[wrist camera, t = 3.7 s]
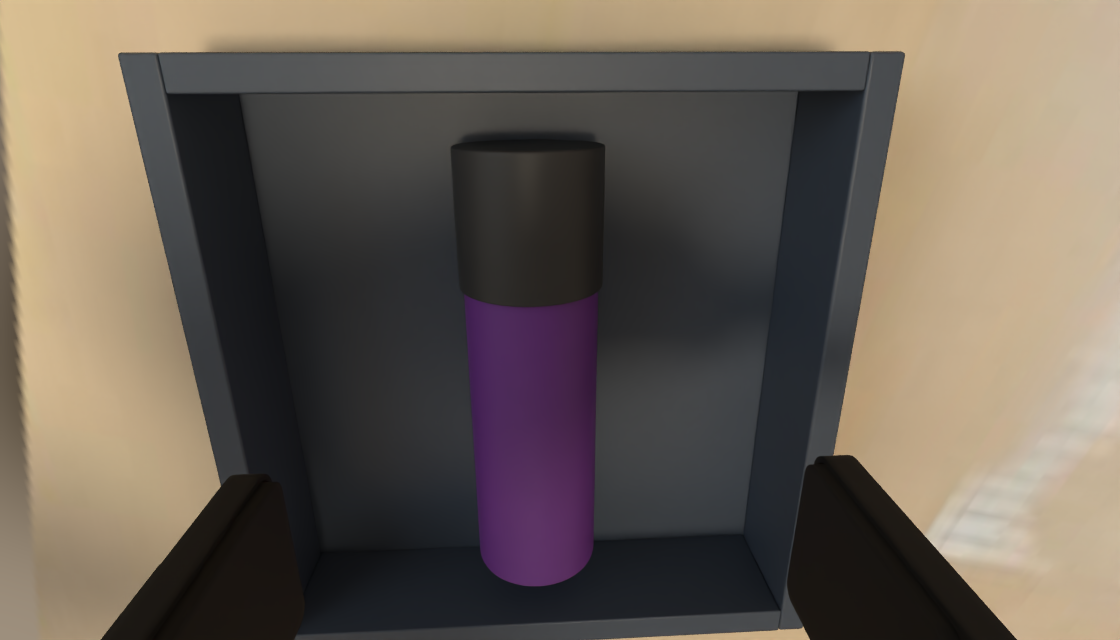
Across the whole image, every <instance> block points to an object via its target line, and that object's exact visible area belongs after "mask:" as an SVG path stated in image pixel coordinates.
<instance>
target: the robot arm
mask: <svg viewBox="0 0 1120 640" xmlns="http://www.w3.org/2000/svg"><path fill="white" fill-rule="evenodd" d="M787 589H788V595H789V598H790V601H791V603H792V605H793V607H794V609H795V611H796V613H797V615H798V617H799V619H800V621H801V623H802V625H803V627H804V628H805V630H806V632H807V634H808V636H809V638H810V640H1017V639H1016V638H1015V637H1014V636H1013V635H1012V634H1011V632H1010V631H1009V630H1008V629H1007V628H1006V627H1005V626H1004V625H1003V623H1002V622H1001V621H1000V620H999V619H998V618H997V617H996V616H995V615H994V613H993V612H992V611H991V610H990V609H989V608H988V607H987V606H986V604H985V603H984V602H983V601H982V600H981V599H980V598H979V597H978V595H977V594H976V593H975V592H974V591H973V590H972V589H971V588H970V586H969V585H968V584H967V583H966V582H965V581H964V580H963V579H962V577H961V576H960V575H959V574H958V573H957V572H956V571H955V570H954V568H953V567H952V566H951V565H950V564H949V563H948V562H947V561H946V559H945V558H944V557H943V556H942V555H941V554H940V553H939V552H938V550H937V549H936V548H935V547H934V546H933V545H932V544H931V543H930V541H929V540H928V539H927V538H926V537H925V536H924V535H923V534H922V532H921V531H920V530H919V529H918V528H917V527H916V526H915V525H914V523H913V522H912V521H911V520H910V519H909V518H908V517H907V516H906V514H905V513H904V512H903V511H902V510H901V509H900V508H899V507H898V505H897V504H896V503H895V502H894V501H893V500H892V499H891V498H890V496H889V495H888V494H887V493H886V492H885V491H884V490H883V489H882V487H881V486H880V485H879V484H878V483H877V482H876V481H875V480H874V478H873V477H872V476H871V475H870V474H869V473H868V472H867V471H866V469H865V468H864V467H863V466H862V465H861V464H860V463H859V462H858V460H857V459H856V458H854V457H853V456H850V455H838V456H819V457H817V458H816V460H815V462H814V464H811V465H808V466H807V467H806V470H805V474H804V480H803V486H802V492H801V498H800V504H799V510H798V516H797V522H796V528H795V534H794V541H793V547H792V553H791V559H790V565H789V571H788V577H787ZM304 609H305V601H304V595H303V590H302V585H301V580H300V575H299V570H298V565H297V560H296V555H295V550H294V545H293V540H292V535H291V530H290V525H289V520H288V515H287V510H286V505H285V500H284V495H283V490H282V487H281V485H280V483H279V482H272V480H271V478H270V476H269V475H267V474H239V475H231V476H230V477H229V478H228V479H227V480H226V481H225V482H224V483H223V485H222V486H221V487H220V489H219V490H218V491H217V492H216V494H215V495H214V496H213V498H212V499H211V500H210V501H209V503H208V504H207V505H206V507H205V508H204V509H203V510H202V512H201V513H200V514H199V516H198V517H197V518H196V519H195V521H194V522H193V523H192V525H191V526H190V527H189V528H188V530H187V531H186V532H185V534H184V535H183V536H182V537H181V539H180V540H179V541H178V543H177V544H176V545H175V546H174V548H173V549H172V550H171V552H170V553H169V554H168V555H167V557H166V558H165V559H164V561H163V562H162V563H161V564H160V565H159V566H158V567H157V568H156V570H155V571H154V572H153V573H152V575H151V576H150V577H149V579H148V580H147V581H146V582H145V584H144V585H143V586H142V588H141V589H140V590H139V591H138V593H137V594H136V595H135V597H134V598H133V599H132V600H131V602H130V603H129V604H128V606H127V607H126V608H125V609H124V611H123V612H122V613H121V614H120V616H119V617H118V618H117V620H116V621H115V622H114V623H113V625H112V626H111V627H110V629H109V630H108V631H107V632H106V634H105V635H104V636H103V638H102V639H101V640H294V639H295V637H296V635H297V632H298V630H299V628H300V625H301V623H302V620H303V615H304Z"/></svg>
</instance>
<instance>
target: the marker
mask: <svg viewBox="0 0 1120 640" xmlns="http://www.w3.org/2000/svg"><path fill="white" fill-rule="evenodd" d="M450 152H451V167H452V182H453V197H454V212H455V227H456V243H457V258H458V273H459V287H460V289H461V291H462V292H463V294H464V300H465V316H466V332H467V347H468V363H469V379H470V395H471V410H472V426H473V442H474V458H475V473H476V489H477V505H478V521H479V536H480V551H481V556H482V558H483V561H484V563H485V564H486V566H487V567H488V568H489V569H490V570H491V571H492V572H493V573H494V574H495V575H497V576H498V577H500V578H501V579H503V580H506V581H508V582H511V583H514V584H518V585H523V586H546V585H552V584H556V583H559V582H562V581H564V580H567V579H569V578H571V577H572V576H574V575H575V574H577V573H578V572H579V571H581V570H582V569H583V568H584V566H585V565H586V564H587V562H588V561H589V559H590V557H591V555H592V552H593V545H594V492H595V437H596V382H597V327H598V291H599V290H600V289H601V287H602V283H603V239H604V191H605V145H604V144H601V143H597V142H590V141H577V140H547V139H525V140H492V141H477V142H467V143H460V144H455V145H453V146H451V149H450Z"/></svg>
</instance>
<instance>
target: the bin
mask: <svg viewBox="0 0 1120 640" xmlns="http://www.w3.org/2000/svg"><path fill="white" fill-rule="evenodd" d="M118 57H119V61H120V66H121V70H122V74H123V78H124V82H125V87H126V91H127V95H128V99H129V103H130V107H131V112H132V116H133V120H134V124H135V128H136V132H137V137H138V141H139V145H140V149H141V153H142V158H143V162H144V166H145V170H146V174H147V178H148V183H149V187H150V191H151V195H152V199H153V203H154V208H155V212H156V216H157V220H158V224H159V228H160V233H161V237H162V241H163V245H164V249H165V254H166V258H167V262H168V266H169V270H170V274H171V279H172V283H173V287H174V291H175V295H176V299H177V304H178V308H179V312H180V316H181V320H182V325H183V329H184V333H185V337H186V341H187V345H188V350H189V354H190V358H191V362H192V366H193V370H194V375H195V379H196V383H197V387H198V391H199V396H200V400H201V404H202V408H203V412H204V416H205V421H206V425H207V429H208V433H209V437H210V441H211V446H212V450H213V454H214V458H215V462H216V466H217V471H218V475H219V479H220V483H221V486H222V485H223V483H224V482H225V481H226V480H227V479H228V478H229V477H230V476H231V475H239V474H267V475H269V476H270V478H271V480H272V482H279V483H280V485H281V487H282V490H283V495H284V500H285V505H286V510H287V515H288V520H289V525H290V530H291V535H292V540H293V545H294V550H295V555H296V560H297V565H298V570H299V575H300V580H301V585H302V590H303V595H304V601H305V609H304V615H303V620H302V623H301V625H300V628H299V630H298V632H297V635H296V637H295V639H294V640H598V639H618V638H637V637H656V636H675V635H694V634H714V633H733V632H752V631H771V630H778V628H779V629H781V630H782V629H800V628H802V627H803V625H802V623H801V621H800V619H799V617H798V615H797V613H796V611H795V609H794V607H793V605H792V603H791V601H790V598H789V595H788V589H787V577H788V571H789V565H790V559H791V553H792V547H793V541H794V534H795V528H796V522H797V516H798V510H799V504H800V498H801V492H802V486H803V480H804V474H805V470H806V467H807V466H808V465H811V464H814V462H815V460H816V458H817V457H819V456H833V454H834V449H835V443H836V437H837V432H838V426H839V421H840V415H841V409H842V404H843V398H844V393H845V387H846V382H847V376H848V370H849V365H850V359H851V354H852V348H853V342H854V337H855V331H856V326H857V320H858V314H859V309H860V303H861V298H862V292H863V287H864V281H865V275H866V270H867V264H868V259H869V253H870V247H871V242H872V236H873V231H874V225H875V219H876V214H877V208H878V203H879V197H880V192H881V186H882V180H883V175H884V169H885V164H886V158H887V152H888V147H889V141H890V136H891V130H892V125H893V119H894V113H895V108H896V102H897V97H898V91H899V85H900V80H901V74H902V69H903V63H904V57H905V53H903V52H901V51H878V52H868V51H817V52H164V53H119V54H118ZM525 139H547V140H577V141H590V142H597V143H601V144H604V145H605V191H604V239H603V283H602V287H601V289H600V290H599V291H598V327H597V382H596V437H595V492H594V545H593V552H592V555H591V557H590V559H589V561H588V562H587V564H586V565H585V566H584V568H583V569H582V570H581V571H579V572H578V573H577V574H575V575H574V576H572V577H571V578H569V579H567V580H564V581H562V582H559V583H556V584H552V585H546V586H523V585H518V584H514V583H511V582H508V581H506V580H503V579H501V578H500V577H498V576H497V575H495V574H494V573H493V572H492V571H491V570H490V569H489V568H488V567H487V566H486V564H485V563H484V561H483V558H482V556H481V551H480V536H479V521H478V505H477V489H476V473H475V458H474V442H473V426H472V410H471V395H470V379H469V363H468V347H467V332H466V316H465V300H464V294H463V292H462V291H461V289H460V287H459V273H458V258H457V243H456V227H455V212H454V197H453V182H452V167H451V152H450V149H451V146H453V145H455V144H460V143H467V142H477V141H492V140H525Z"/></svg>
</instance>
